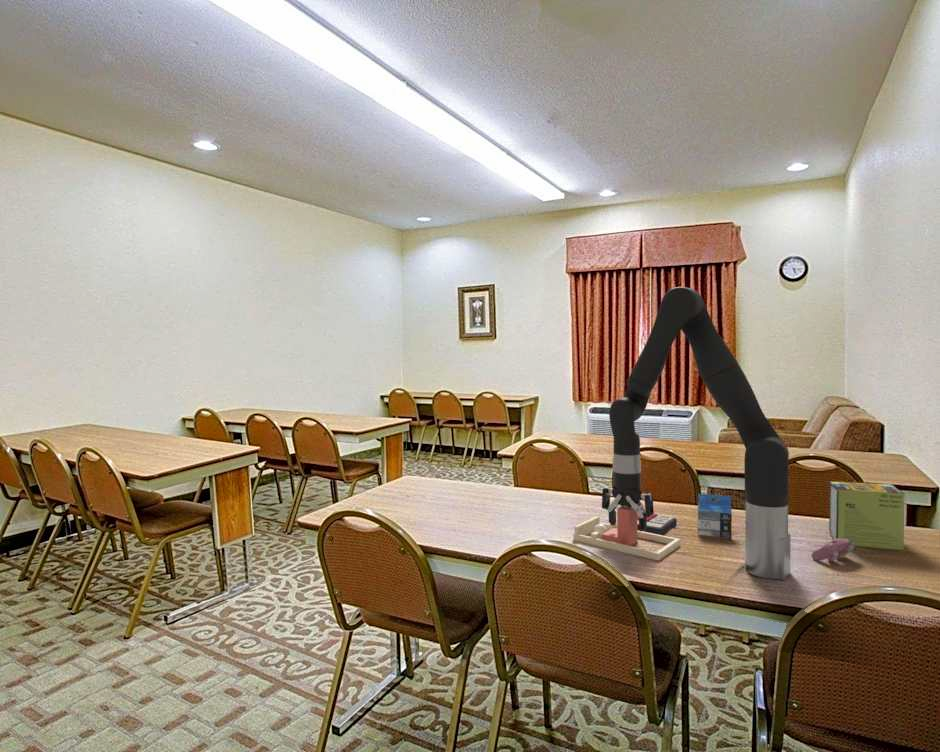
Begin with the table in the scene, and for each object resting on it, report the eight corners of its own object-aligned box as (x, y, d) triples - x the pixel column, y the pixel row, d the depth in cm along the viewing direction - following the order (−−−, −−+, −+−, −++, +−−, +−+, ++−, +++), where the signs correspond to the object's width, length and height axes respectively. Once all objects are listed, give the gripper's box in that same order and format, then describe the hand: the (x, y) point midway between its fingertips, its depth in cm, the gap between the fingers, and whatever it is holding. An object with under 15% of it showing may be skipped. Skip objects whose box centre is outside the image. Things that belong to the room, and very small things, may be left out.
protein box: (904, 550, 152) (905, 493, 151) (837, 545, 157) (838, 489, 156) (891, 538, 162) (892, 484, 161) (828, 533, 167) (828, 480, 166)
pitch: (680, 550, 156) (680, 531, 155) (658, 565, 145) (658, 546, 145) (597, 531, 172) (597, 515, 172) (573, 544, 162) (573, 527, 161)
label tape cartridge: (697, 539, 164) (697, 496, 163) (697, 535, 168) (697, 493, 167) (731, 542, 161) (731, 499, 160) (730, 538, 164) (730, 495, 164)
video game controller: (823, 570, 144) (836, 549, 141) (808, 556, 148) (820, 536, 144) (848, 563, 148) (861, 543, 145) (833, 550, 152) (845, 530, 148)
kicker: (639, 540, 160) (638, 505, 159) (627, 547, 154) (627, 511, 154) (613, 535, 165) (613, 501, 164) (601, 541, 160) (601, 506, 159)
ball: (607, 521, 164) (596, 523, 167) (600, 524, 161) (589, 526, 164) (612, 535, 164) (600, 537, 166) (605, 538, 161) (593, 540, 163)
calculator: (677, 516, 175) (661, 526, 163) (677, 530, 175) (660, 541, 163) (642, 510, 182) (624, 520, 170) (641, 524, 182) (623, 534, 170)
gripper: (657, 470, 155) (657, 529, 156) (609, 464, 165) (610, 519, 166) (645, 475, 150) (645, 536, 151) (596, 468, 159) (597, 526, 160)
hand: (627, 527), depth 158 cm, fingers open, 8 cm apart
